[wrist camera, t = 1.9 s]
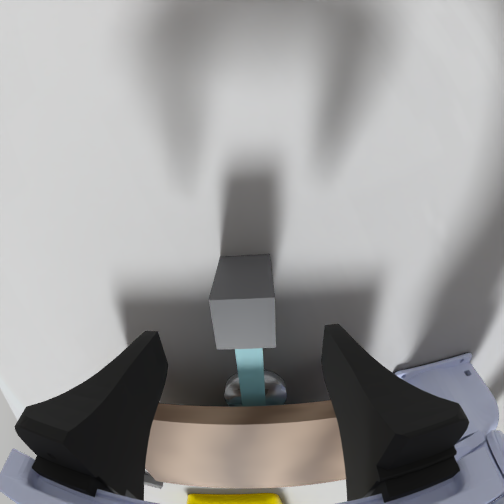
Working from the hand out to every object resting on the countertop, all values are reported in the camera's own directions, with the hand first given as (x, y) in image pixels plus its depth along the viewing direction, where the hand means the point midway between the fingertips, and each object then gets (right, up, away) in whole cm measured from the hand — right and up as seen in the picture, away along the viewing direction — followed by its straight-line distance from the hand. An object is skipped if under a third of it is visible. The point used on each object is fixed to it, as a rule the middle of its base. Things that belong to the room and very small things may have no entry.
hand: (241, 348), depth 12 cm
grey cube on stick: (0, -4, +9) cm, 10 cm away
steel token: (+1, -7, +11) cm, 13 cm away
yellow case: (-2, -40, +24) cm, 47 cm away
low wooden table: (0, -10, +11) cm, 15 cm away
